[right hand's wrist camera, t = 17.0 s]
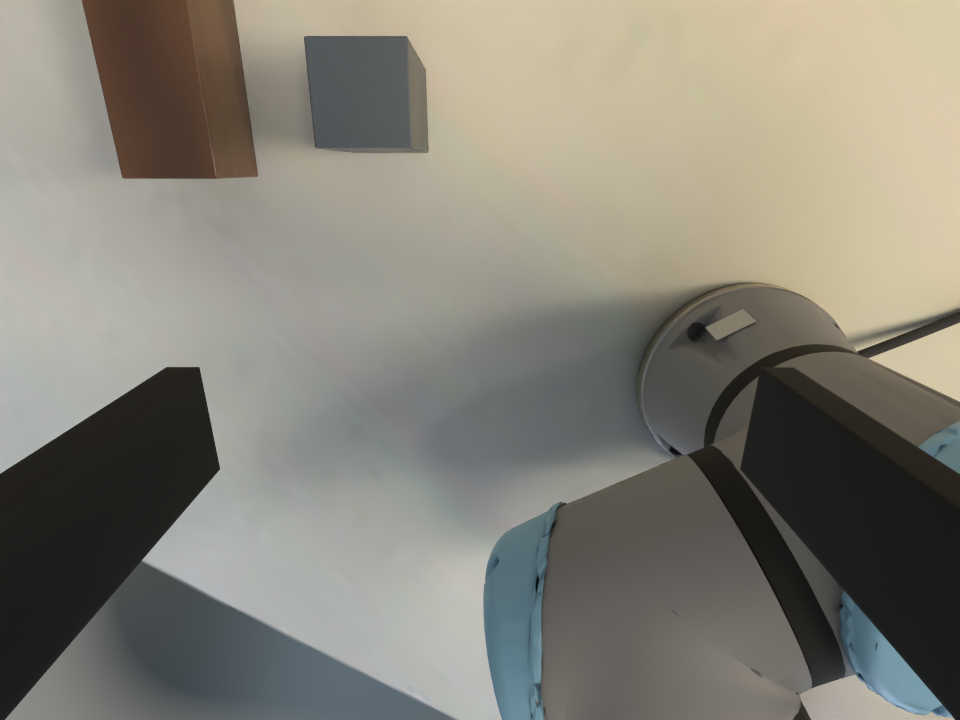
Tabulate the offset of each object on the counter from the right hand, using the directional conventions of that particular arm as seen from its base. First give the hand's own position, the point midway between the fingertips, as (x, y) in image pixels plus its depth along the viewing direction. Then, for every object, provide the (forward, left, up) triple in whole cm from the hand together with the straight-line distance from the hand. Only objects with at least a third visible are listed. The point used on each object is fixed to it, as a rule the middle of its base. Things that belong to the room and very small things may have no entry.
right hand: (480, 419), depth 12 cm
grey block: (+6, -9, -27) cm, 29 cm away
